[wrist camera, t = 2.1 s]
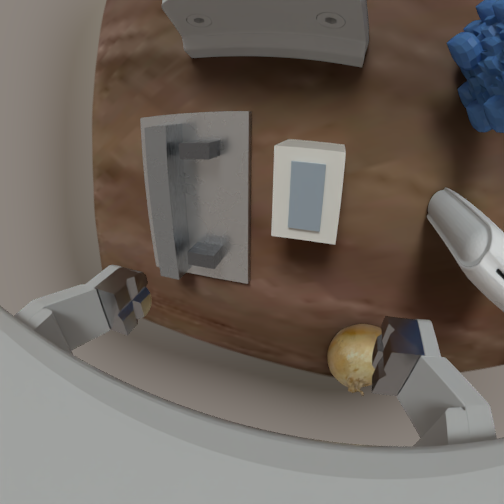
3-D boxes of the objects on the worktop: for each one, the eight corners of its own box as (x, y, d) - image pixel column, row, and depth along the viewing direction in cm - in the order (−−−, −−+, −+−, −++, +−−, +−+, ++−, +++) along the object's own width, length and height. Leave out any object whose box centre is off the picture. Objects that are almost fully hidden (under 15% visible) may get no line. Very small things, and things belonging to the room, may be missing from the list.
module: (344, 144, 23) (345, 153, 18) (337, 217, 26) (335, 246, 21) (288, 139, 24) (273, 146, 19) (285, 211, 28) (270, 237, 22)
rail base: (251, 111, 24) (237, 111, 21) (250, 280, 32) (238, 299, 29) (144, 117, 27) (122, 120, 24) (159, 263, 35) (143, 278, 32)
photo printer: (504, 235, 21) (563, 303, 10) (482, 266, 23) (528, 344, 13) (441, 178, 21) (505, 229, 11) (418, 214, 24) (462, 287, 13)
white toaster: (188, 58, 23) (131, 7, 13) (199, 23, 22) (151, -31, 12) (366, 68, 19) (381, -4, 10) (367, 30, 18) (376, -43, 9)
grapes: (423, 4, 14) (466, -52, 4) (485, 28, 12) (550, -1, 2) (421, 115, 19) (480, 119, 9) (482, 136, 18) (559, 160, 8)
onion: (318, 325, 33) (310, 370, 27) (381, 303, 29) (386, 349, 23) (343, 366, 35) (339, 410, 29) (400, 349, 31) (404, 394, 25)
